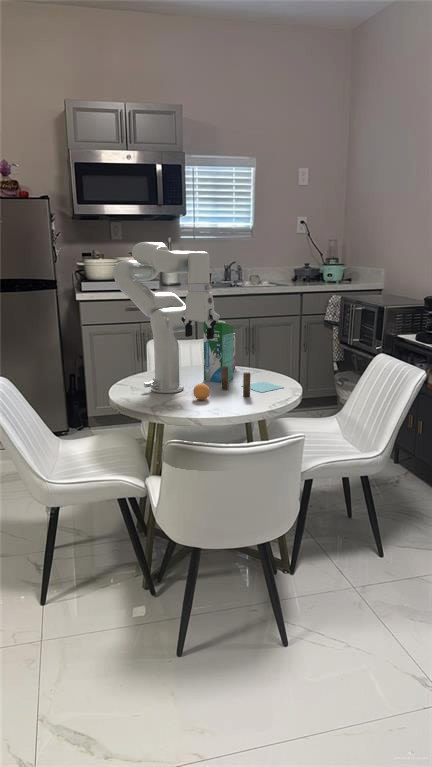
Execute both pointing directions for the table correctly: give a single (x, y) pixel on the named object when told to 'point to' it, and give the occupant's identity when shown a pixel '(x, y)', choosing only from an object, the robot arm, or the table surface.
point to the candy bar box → (233, 351)
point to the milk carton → (218, 352)
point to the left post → (224, 377)
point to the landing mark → (264, 387)
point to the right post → (246, 384)
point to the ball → (201, 391)
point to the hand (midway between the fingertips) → (199, 337)
